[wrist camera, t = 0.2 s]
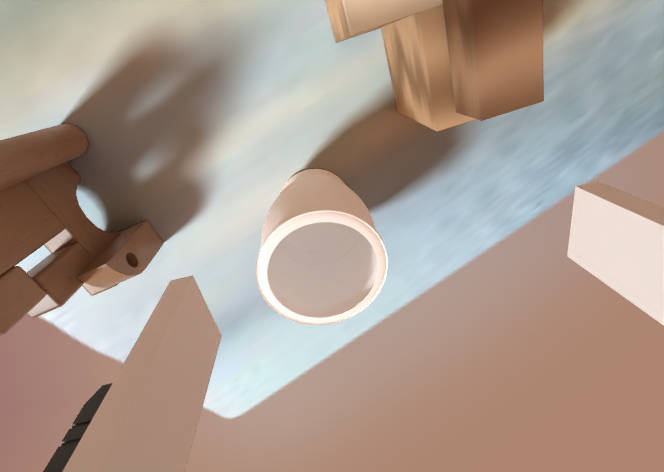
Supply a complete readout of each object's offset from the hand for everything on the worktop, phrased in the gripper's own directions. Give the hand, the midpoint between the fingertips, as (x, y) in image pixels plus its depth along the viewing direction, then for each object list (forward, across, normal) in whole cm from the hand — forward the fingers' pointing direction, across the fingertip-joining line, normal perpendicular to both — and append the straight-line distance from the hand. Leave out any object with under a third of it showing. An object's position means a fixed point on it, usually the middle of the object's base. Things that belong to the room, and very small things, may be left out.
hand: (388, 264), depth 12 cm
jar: (+28, -3, -8) cm, 29 cm away
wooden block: (+16, +11, +7) cm, 21 cm away
